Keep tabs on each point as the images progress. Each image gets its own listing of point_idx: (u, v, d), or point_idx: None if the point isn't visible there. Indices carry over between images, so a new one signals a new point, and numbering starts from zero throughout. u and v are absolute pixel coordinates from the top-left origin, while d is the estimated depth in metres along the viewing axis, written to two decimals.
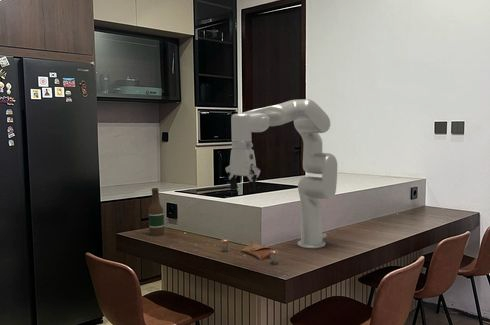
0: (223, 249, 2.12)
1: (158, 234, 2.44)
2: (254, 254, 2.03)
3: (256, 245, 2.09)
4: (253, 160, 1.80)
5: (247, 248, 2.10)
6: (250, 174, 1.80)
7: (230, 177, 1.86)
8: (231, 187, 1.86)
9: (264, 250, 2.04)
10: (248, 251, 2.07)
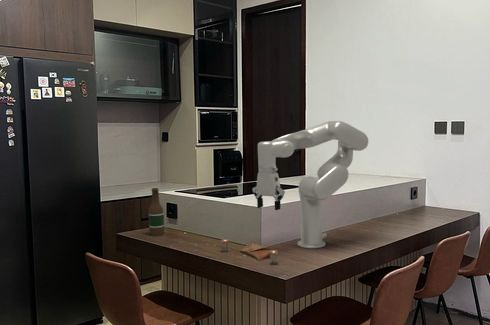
0: (223, 249, 2.12)
1: (158, 234, 2.44)
2: (253, 254, 2.03)
3: (255, 245, 2.09)
4: (278, 182, 2.06)
5: (246, 248, 2.10)
6: (275, 194, 2.06)
7: (257, 197, 2.12)
8: (258, 205, 2.12)
9: (263, 250, 2.03)
10: (247, 251, 2.07)
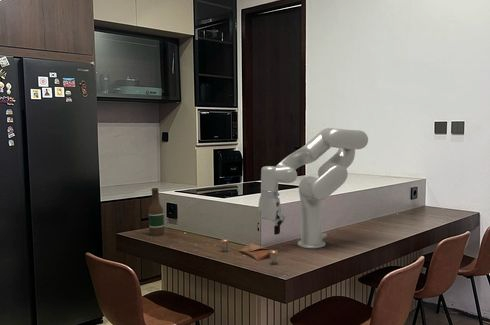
0: (223, 249, 2.12)
1: (158, 234, 2.44)
2: (251, 254, 2.03)
3: (254, 245, 2.08)
4: (279, 207, 2.10)
5: (245, 248, 2.10)
6: (276, 219, 2.09)
7: None
8: (258, 228, 2.15)
9: (261, 251, 2.03)
10: (246, 251, 2.07)
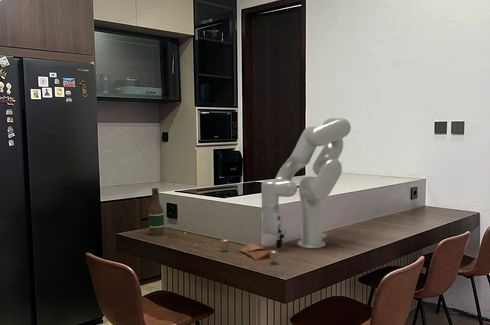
0: (223, 249, 2.12)
1: (158, 234, 2.44)
2: (250, 255, 2.03)
3: (253, 246, 2.08)
4: (280, 221, 2.10)
5: (244, 248, 2.10)
6: (277, 233, 2.10)
7: None
8: None
9: (260, 251, 2.03)
10: (245, 251, 2.07)
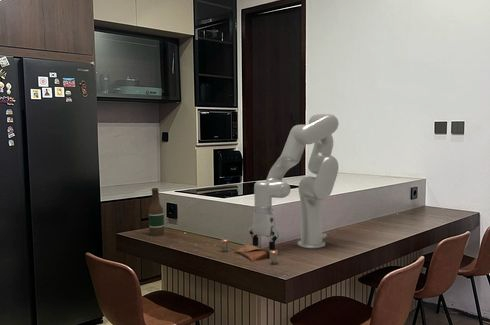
0: (223, 249, 2.12)
1: (158, 234, 2.44)
2: (247, 255, 2.02)
3: (250, 246, 2.07)
4: (273, 223, 2.07)
5: (241, 249, 2.09)
6: (270, 235, 2.07)
7: (252, 236, 2.13)
8: (253, 244, 2.13)
9: (257, 251, 2.02)
10: (242, 252, 2.06)
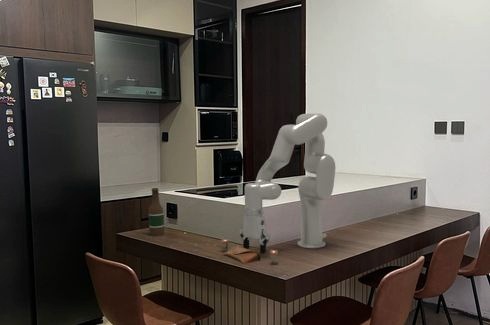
0: (223, 249, 2.12)
1: (158, 234, 2.44)
2: (237, 257, 1.99)
3: (239, 248, 2.04)
4: (264, 225, 2.02)
5: (230, 251, 2.06)
6: (261, 238, 2.02)
7: (243, 239, 2.08)
8: None
9: (247, 253, 1.99)
10: (231, 254, 2.03)
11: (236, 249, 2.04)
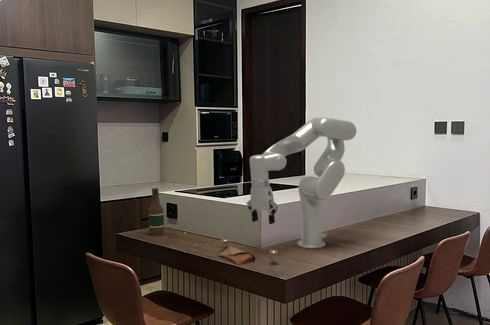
0: (223, 249, 2.12)
1: (158, 234, 2.44)
2: (231, 259, 1.98)
3: (234, 249, 2.03)
4: (271, 196, 2.05)
5: (225, 252, 2.04)
6: (269, 208, 2.04)
7: (251, 211, 2.11)
8: (253, 219, 2.11)
9: (242, 254, 1.98)
10: (225, 256, 2.02)
11: (230, 250, 2.03)
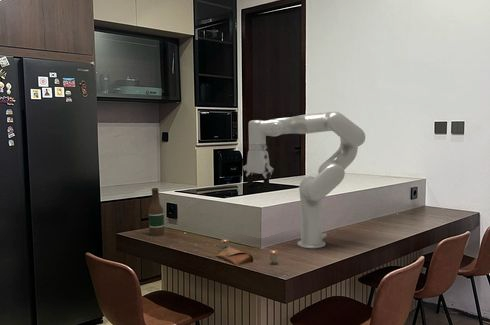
0: (223, 249, 2.12)
1: (158, 234, 2.44)
2: (229, 259, 1.97)
3: (232, 250, 2.02)
4: (267, 160, 2.11)
5: (222, 253, 2.04)
6: (264, 172, 2.11)
7: (247, 174, 2.17)
8: (248, 183, 2.17)
9: (240, 255, 1.97)
10: (223, 256, 2.01)
11: (228, 251, 2.02)
